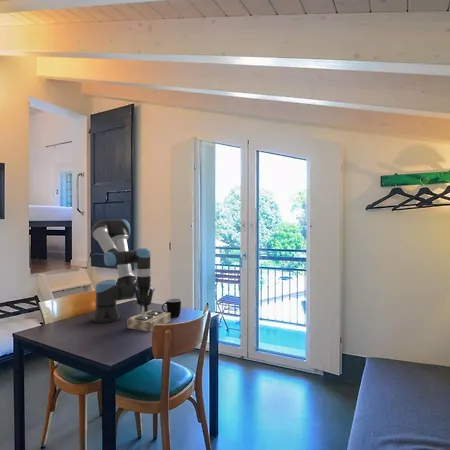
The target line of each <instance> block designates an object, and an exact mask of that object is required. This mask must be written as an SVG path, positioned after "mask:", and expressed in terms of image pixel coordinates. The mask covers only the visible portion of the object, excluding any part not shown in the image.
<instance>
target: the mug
mask: <svg viewBox="0 0 450 450" xmlns="http://www.w3.org/2000/svg"><path fill="white" fill-rule="evenodd" d="M165 305H166V310H165V309H164V306H165ZM181 306H182V300H181V299H180V298H168V299H167V300H166V301H165V302H164V303H163V304H162V305H161V310H162V312H168V313H171V318H172V319H173V318H178V317H180V313H181Z"/></svg>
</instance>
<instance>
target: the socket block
mask: <svg viewBox="0 0 450 450" xmlns="http://www.w3.org/2000/svg"><path fill="white" fill-rule="evenodd" d="M152 312H157V313H158V314H156V315H154V314H151V313H152ZM141 317H142V312H141V313H138V314H136V315H133V316H131V317H129V318H127V319H126V328H127V329H131V330H138V331H145V332H150V333H151V332H153V331H152V328H153V326H154V325H157V324H164V325H166V324H169V323H170V322H171V320H172V319H171V313H168V312H167V311H166V312H164V311H158V310H153V309H152V310H150V309H148V311H147V317H148V318H147V319H141Z"/></svg>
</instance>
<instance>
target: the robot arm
mask: <svg viewBox="0 0 450 450" xmlns="http://www.w3.org/2000/svg"><path fill="white" fill-rule="evenodd" d="M91 235H92V237H93V238H94V241H97V242H98V244H99V247H100V248H101V250H102V251H103V253H104V255H103V262H104V265H105V266H110V267H112V266H113V267H114V266H117V274H118V278H117V279H106V280H102V281H99V282H97V284H96V285H95V310H94V314H93V316H92V321H93V322H94V323H97V324H98V323H99V324H105V323H106V324H107V323H112V322H116V321H119V320H120V313H119V310H118V307H117V302H118V301H125V300H132V299H136V304H137V305H139V306H140V312H141V313H142V318H145V317H147V311H148V310H149V309H148V307H149V305H151V304H152V299H153V295H154V291H155V289H156V288H155V287H154V288H153V287H152V286H151V285H152V284H151V281H152V280H151V271H152V270H151V256H152V255H151V249H150V248H148V247H147V248H146V247H143V248H137V249H132V250H129V247H128V239H130V238H129V237H130V236H131V226H130V223H129V222H128V220H126V219H121V218H119V219H102V220H99V221H97V222H95V224H93V227H92V229H91ZM132 264H133V265H134V264H135V265H136V275H135V274H133V268H132Z"/></svg>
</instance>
